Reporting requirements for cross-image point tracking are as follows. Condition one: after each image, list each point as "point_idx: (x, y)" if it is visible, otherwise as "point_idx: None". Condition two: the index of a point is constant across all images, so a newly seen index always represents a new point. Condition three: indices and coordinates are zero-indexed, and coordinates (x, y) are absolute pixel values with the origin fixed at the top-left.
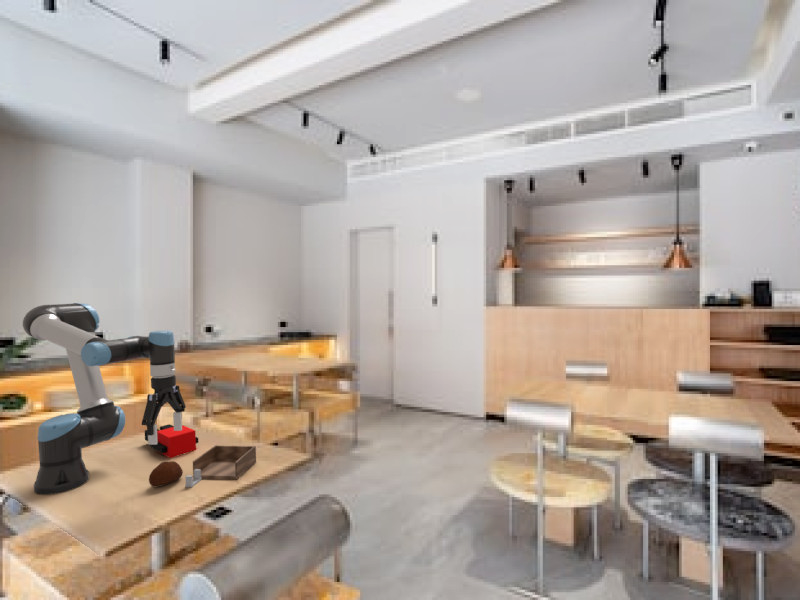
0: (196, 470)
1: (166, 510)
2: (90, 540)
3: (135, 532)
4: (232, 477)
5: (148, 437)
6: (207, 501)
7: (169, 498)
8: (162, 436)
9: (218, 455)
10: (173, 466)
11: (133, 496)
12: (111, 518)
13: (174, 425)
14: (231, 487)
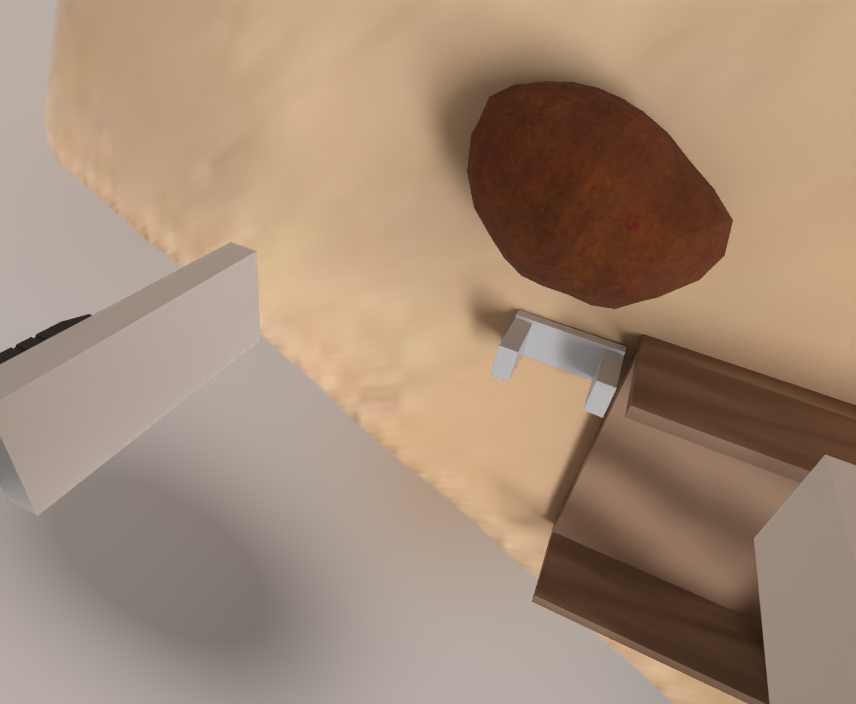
0: (589, 395)
1: (288, 278)
2: (57, 39)
3: (142, 210)
4: (559, 516)
5: (158, 287)
6: (360, 417)
7: (392, 259)
8: None
9: None
10: (555, 285)
11: (433, 2)
12: (197, 22)
13: (830, 542)
14: (475, 496)
